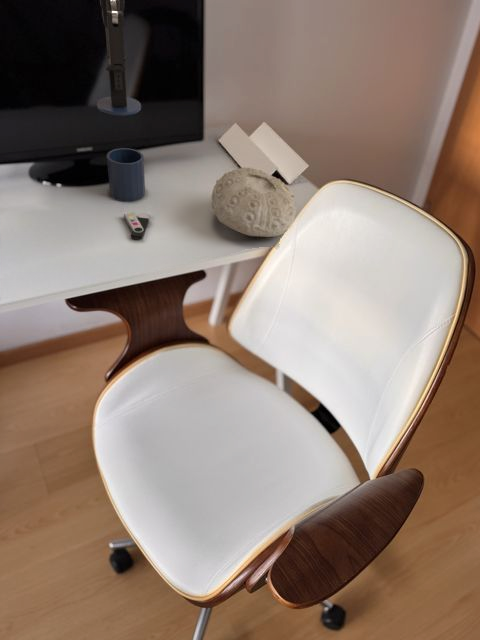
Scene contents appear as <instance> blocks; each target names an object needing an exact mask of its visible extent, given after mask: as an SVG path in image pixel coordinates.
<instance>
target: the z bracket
mask: <svg viewBox="0 0 480 640" xmlns="http://www.w3.org/2000/svg"><path fill="white" fill-rule="evenodd" d="M218 142H219V143H220V144H221V146H222V147H223V148H224V149H225V150H226V151H227V152H228V154H229V155H230V156H231V158H232V159H233V160H234V161H235V162H236V163H237V164H238V165H239V166H240V168H245V167H246V168H252V169H256V170H259V171H260V170H262V172H264V173H266V174H268V175H272V176H273V174H274V173H275V172H277V173H278V174H279V176H281V177H282V178H283V180H284V181H285V182H287V184H288V185H290V184H292V183H293V182H294V181H295V180H296V179H297V178H298V177H299V176H300V175H301V174H302V173H303V172H304V171H305V170H307V168H308V167H309V164H308V163H307V162H306V161H305V160H304V159H303V158H302V157H301V156H300V155H299V154H298V153H297V152H296V151H295V150H294V149H293V148H292V147H291V146H289V144H287V142H286V141H285V140H284V139H283V138H281V136H279V135H278V133H277V132H275V130H273V129H272V128H271V126H269V125H268V124H267V122H265V121H263V122H262V123H261V124H260V125H259V126H258V127H257V128H256V129H255V130H254V131H253V132H252V133H251V134H250V135H248V134H247V133H246V132H245V131H244V129H242V128H241V127H240V126H239V125H238V124H237V123H236V122H235V123H233V125H232V126H231V127H229V129H228V130H227V131H226V132H225V133H224V134H223V135H222V136H221V137H220V138H219V139H218Z"/></svg>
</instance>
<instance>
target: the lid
mask: <svg viewBox="0 0 480 640" xmlns="http://www.w3.org/2000/svg"><path fill="white" fill-rule="evenodd" d="M108 62H109V65H110V58H109V59H108ZM126 98H127V107H112V100H111V95H110V96H105V97H101V98H100V99H98V100H97V103H96V106H97V109H98V110H99V111H100V112H102V113H105V114H107V115H111V116H121V117H122V116H131V115H135V114H137V113H139V112H140V111H141V110H142V104H141V102H140V101H139V100H137V99H136V98H132V97H129V96H126Z"/></svg>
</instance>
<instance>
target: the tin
mask: <svg viewBox="0 0 480 640" xmlns="http://www.w3.org/2000/svg"><path fill="white" fill-rule="evenodd" d="M106 161H107V163H106V164H107V172H108V173H107V174H108V185H109V194H110V196H111V197H112V198H113V199H115V200H117V201H119V202H124V203H125V202H127V203H129V202H136V201H137V202H138V201H140V200H141V199H143V198H145V196H146V184H145V183H146V181H145V179H146V178H145V157H144V154H143V153H142V152H141V151H139V150H137V149H134V148H128V147H120V148H114V149H112V150H110V151H108V152H107V154H106Z"/></svg>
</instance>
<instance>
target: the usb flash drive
mask: <svg viewBox="0 0 480 640" xmlns="http://www.w3.org/2000/svg"><path fill="white" fill-rule="evenodd" d="M139 213H140V214H139V215H138V217H137V215H136V214H135V212H130V213H124V214H123V218H124V220H125V221H126V223H127V225H128V228H129V229H130V231H131V233H130V238H131V239H132V240H143V237H144V235H145V233H146V231H147V228H148V225H149V223H150V217H151V214H150V213H144V212H139Z"/></svg>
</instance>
